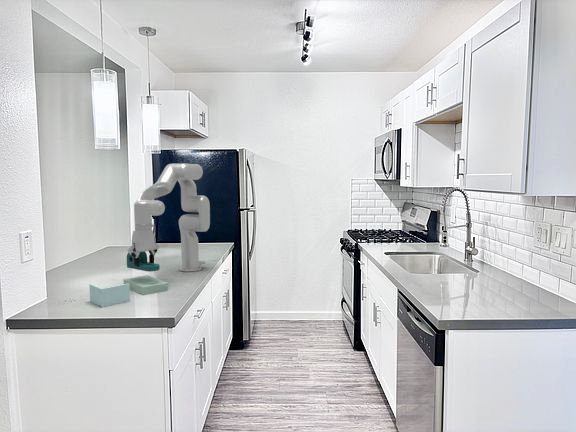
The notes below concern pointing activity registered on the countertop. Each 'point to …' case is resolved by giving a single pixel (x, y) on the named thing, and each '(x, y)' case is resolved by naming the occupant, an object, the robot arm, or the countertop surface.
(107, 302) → the l-shaped corner panel
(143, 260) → the bracket
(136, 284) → the base plate
